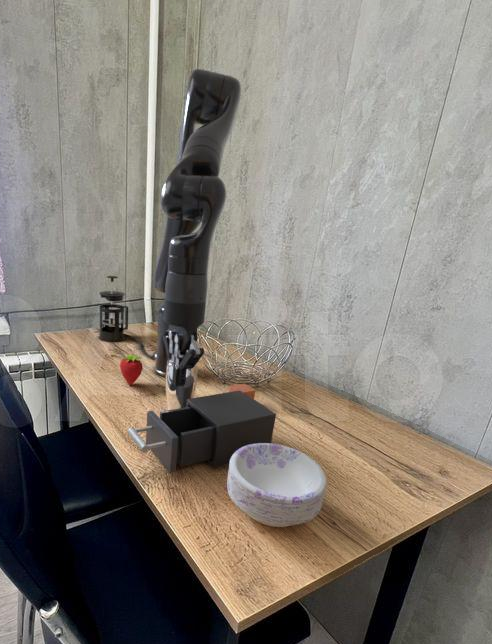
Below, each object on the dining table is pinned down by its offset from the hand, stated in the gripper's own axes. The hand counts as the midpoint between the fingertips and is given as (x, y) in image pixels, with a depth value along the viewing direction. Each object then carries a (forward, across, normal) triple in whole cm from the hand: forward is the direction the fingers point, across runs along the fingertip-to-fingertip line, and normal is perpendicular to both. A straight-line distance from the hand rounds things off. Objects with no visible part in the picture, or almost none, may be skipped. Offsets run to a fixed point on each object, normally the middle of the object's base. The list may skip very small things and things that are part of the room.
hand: (178, 384), depth 78 cm
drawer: (+13, -5, +2) cm, 14 cm away
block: (+14, +11, -25) cm, 30 cm away
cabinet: (+14, -4, -10) cm, 17 cm away
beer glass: (+14, +8, -5) cm, 17 cm away
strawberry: (+14, +32, -2) cm, 35 cm away
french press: (+15, +75, -12) cm, 77 cm away
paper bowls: (+13, -23, -6) cm, 28 cm away
